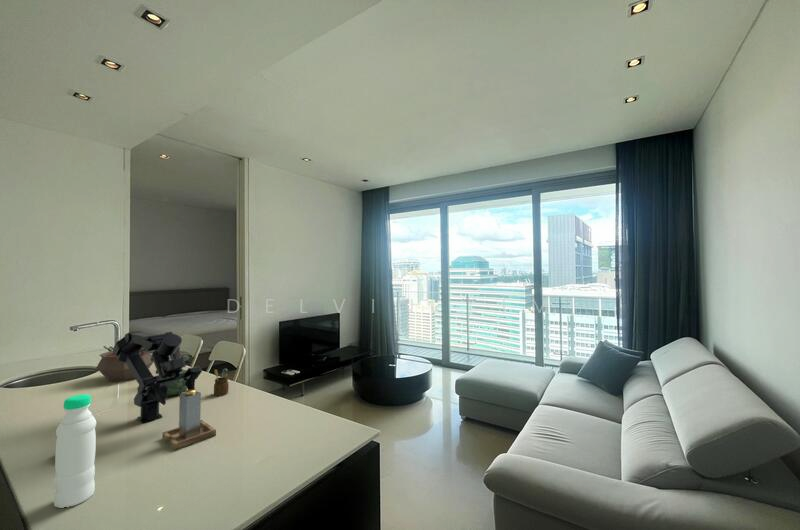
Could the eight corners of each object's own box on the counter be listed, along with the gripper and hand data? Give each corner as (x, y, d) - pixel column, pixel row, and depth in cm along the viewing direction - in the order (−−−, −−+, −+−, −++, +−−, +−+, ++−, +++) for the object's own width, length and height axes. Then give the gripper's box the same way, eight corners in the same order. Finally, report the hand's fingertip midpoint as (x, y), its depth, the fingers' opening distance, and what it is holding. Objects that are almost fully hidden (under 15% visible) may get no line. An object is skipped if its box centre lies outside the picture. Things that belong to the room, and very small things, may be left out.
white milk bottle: (72, 490, 82) (75, 391, 83) (102, 489, 83) (104, 391, 84) (44, 510, 75) (48, 402, 76) (77, 508, 76) (80, 401, 77)
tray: (162, 438, 108) (162, 432, 108) (201, 425, 118) (201, 419, 118) (175, 450, 101) (175, 444, 101) (215, 435, 110) (216, 429, 110)
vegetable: (198, 380, 160) (197, 374, 149) (177, 405, 152) (174, 400, 141) (176, 367, 159) (174, 360, 147) (154, 391, 150) (149, 385, 139)
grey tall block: (178, 436, 109) (179, 391, 109) (192, 430, 112) (193, 387, 113) (185, 440, 106) (186, 394, 107) (200, 434, 110) (200, 389, 111)
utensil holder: (231, 392, 151) (231, 366, 151) (219, 397, 145) (220, 370, 145) (221, 390, 153) (222, 365, 153) (210, 395, 147) (210, 369, 147)
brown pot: (82, 383, 162) (83, 351, 162) (129, 369, 185) (130, 341, 186) (122, 386, 158) (123, 353, 158) (165, 372, 181) (166, 342, 182)
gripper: (142, 355, 108) (157, 395, 102) (200, 344, 124) (215, 378, 118) (131, 374, 112) (145, 414, 106) (188, 362, 128) (203, 395, 122)
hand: (179, 399), depth 113 cm, fingers open, 9 cm apart
